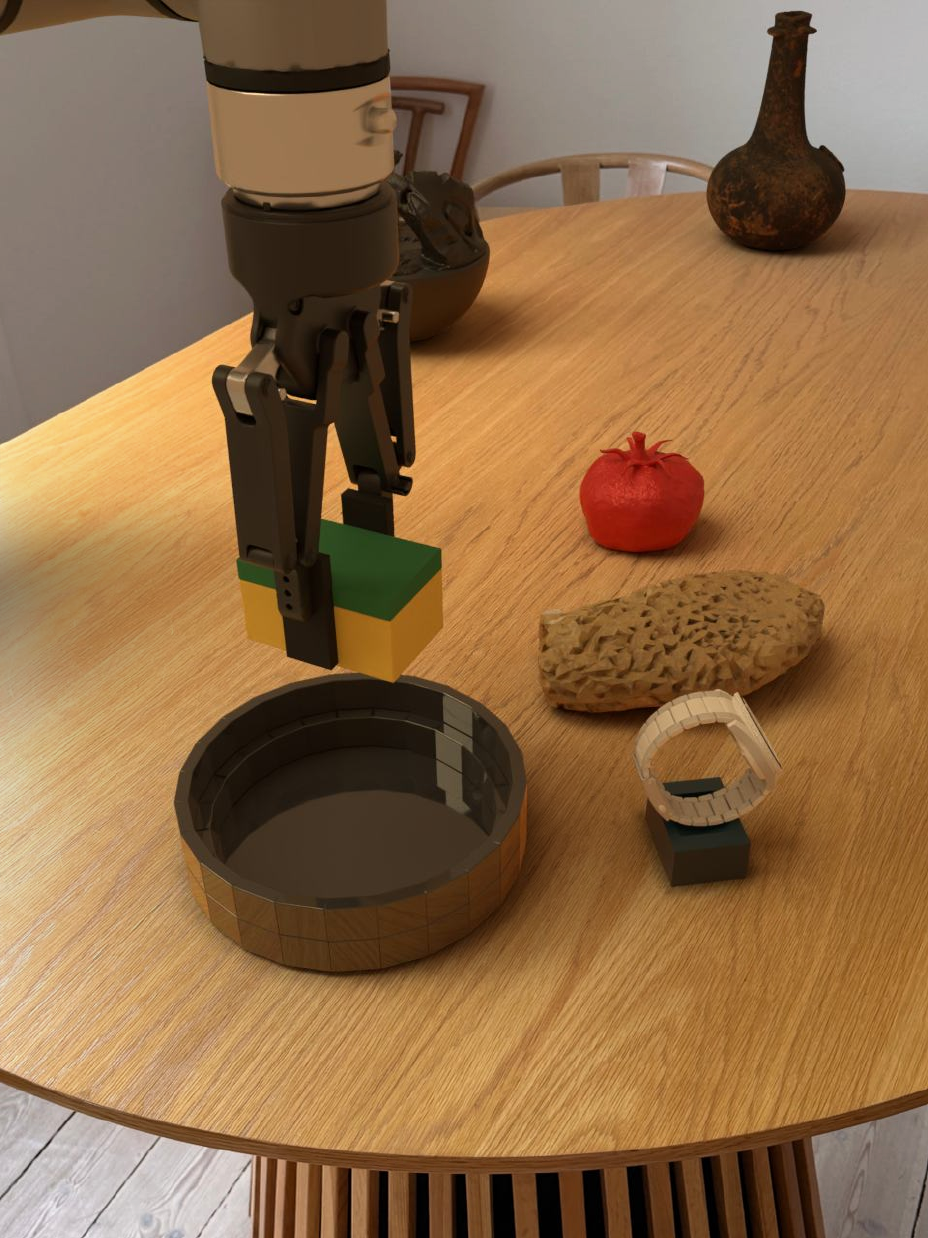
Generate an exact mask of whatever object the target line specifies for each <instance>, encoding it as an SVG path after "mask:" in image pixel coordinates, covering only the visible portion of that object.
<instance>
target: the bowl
mask: <svg viewBox="0 0 928 1238" xmlns="http://www.w3.org/2000/svg"><path fill="white" fill-rule="evenodd" d="M176 781H177V782H176V787H175V793H174V797H173V809H174V814H175V817H176V823H177V827H178V834H179V838H180V842H181V847H182V853H183V858H184V862H185V867H186V871H187V877H188V881H189V886H190V891H191V894H192V896H193V898H194V899H195V901H196V902H197V904H198V905H199V907H200V909H201V910H202V912H203V913H204V914H205V916H206V918H207V919H208V921H209V922H210V923H211V925H212V926H214V927H215V928H216V929H217V930H219V931H220V932H221V933H223V934H224V935H225V936H227V937H228V938H229V939H230V940H231V941H233V942H234V943H235V944H237V945H238V946H239V947H240V948H242V949H244V950H246V951H249V952H251V953H254V954H255V955H258V956H261V957H263V958H266V959H268V960H270V961H273V962H275V963H278V964H281V965H284V966H288V967H294V968H295V967H297V968H302V969H310V970H316V971H324V972H330V973H332V972H333V973H334V972H335V973H336V972H348V971H349V972H351V971H352V972H353V971H365V970H379V969H385V968H389V967H392V966H397V965H400V964H403V963H404V964H405V963H407V962H411V961H414V960H419V959H421V958H426V957H428V956H430V955H433V954H434V953H436V952H438V951H440V950H441V949H443V948H445V947H447V946H449V945H451V944H453V943H454V942H456V941H459V940H460V939H462V938H464V937H466V936H468V935H469V934H470V933H472V932H473V931H475V929H476V928H477V927H478V926H479V925H481V924H482V923H483V922H484V921H485V920H486V919H487V918H488V917H490V915H492V914H493V913H494V912H496V910H497V909H498V908H500V906H501V905H502V903H503V901H504V900H505V898H506V897H507V895H508V893H509V892H510V890H511V889H512V888H513V885H514V884H515V881H516V880H517V879H518V877H519V875H520V872H521V868H522V863H523V858H524V855H525V849H526V845H527V823H528V822H527V821H528V820H527V817H528V816H527V815H528V811H527V810H528V778H527V771H526V767H525V760H524V754H523V751H522V749H521V748H520V746H519V744H518V743H517V740H516V739H515V738H514V736H513V734H512V733H511V731H510V729H509V728H508V725H507V724H506V723H505V722H503V721H502V720H501V719H500V718H499V716H497V715H496V714H495V713H493V712H492V710H490V709H489V708H488V707H487V706H486V705H485V704H483V702H482V703H481V701H478V700H476V699H475V698H474V697H473V698H472V697H471V696H469V695H467V694H465V693H464V692H462V691H459V690H457V689H456V688H454V687H452V686H450V685H448V684H444V683H440V682H436V681H434V680H430V679H426V678H423V677H420V676H416V675H409V674H401V675H400V677H399V678H398V679H397V680H396V681H395V682H394V683H392V682H389V681H385V680H382V679H379V678H375V677H372V676H369V675H366V674H362V673H359V672H356V671H355V672H342V673H341V672H339V673H329V674H325V675H320V676H316V677H315V676H314V677H310V678H307V679H301V680H296V681H292V682H289V683H287V684H284V685H281V686H279V687H276V688H273V689H271V690H268V691H266V692H263V693H261V694H258V695H256V696H254V697H252V698H250V699H248V700H247V701H246V702H244V703H242V704H240V705H239V706H237V707H235V708H234V709H233V710H231V711H230V712H228V713H226V714H224V715H223V716H222V717H221V718H219V719H218V721H216V722H215V724H214V725H212V726H211V727H210V728H209V729H208V730H207V731H206V732H205V733H204V734H203V735H202V736H201V737H200V738H199V739H198V740H197V741H196V742H195V744H194V745H193V747H192V749H191V750H190V752H189V754H188V756H187V758H186V759H185V761H184V762H183V765H182V766H181V768H180V770H179V771H178V776H177V780H176Z"/></svg>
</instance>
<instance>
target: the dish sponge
mask: <svg viewBox="0 0 928 1238" xmlns="http://www.w3.org/2000/svg"><path fill="white" fill-rule="evenodd" d="M319 552H321V553H325V554H328V555H330V562H331V574H332V585H333V586H332V591H333V603H334V614H335V626H336V638H337V649H338V661H339V663H338V664H337V665H336V666H337V667H339V668H343V669H346V670H349V671H353V672H355V673H356V672H359V673H362V674H366V675H369V676H372V677H375V678H379V679H382V680H385V681H389V682H392V683H394V682H395V681H396V680H397V679H398V678H399V677H400V675H403V673H404V672H405V671H406V670H407V669H408V668H409V667H410V666H411V664H412V663H413V662H414V661H415V660H416V659H417V658H418V656H419V655H420V654H421V653H422V652H423V651H424V650H425V649H426V648H427V646H428V645H430V643H431V642H432V641H433V640H434V639H435V637H436V636H438V634H439V633H440V632H441V631H442V629H443V628H444V607H443V571H442V568H443V560H442V559H443V557H442V556H443V555H442V548H440V547H437V546H432V545H429V544H426V543H421V542H417V541H413V540H408V539H406V538H401V537H397V536H395V537H393V536H389V535H385V534H381V533H377V532H373V531H369V530H365V529H361V528H357V527H353V526H349V525H345V524H343V523H341V522H337V521H333V520H329V519H326V518H321V526H320V539H319ZM235 562H236V569H237V576H238V582H239V587H240V595H241V602H242V608H243V609H242V610H243V617H244V624H245V631H246V638H247V639H248V640H249V641H253V642H256V643H260V644H263V645H266V646H270V647H273V648H276V649H280V650H283V651H286V644H285V636H284V627H283V618H282V616H281V614H280V612H279V610H278V605H277V600H278V599H277V596H276V593H277V592H276V588H275V579H274V571H273V570H270V569H266V568H263V567H259V566H256V565H252V564H249V563H245V562H242V561H241V560H240V557H237V558H236V559H235ZM336 666H335V667H336Z"/></svg>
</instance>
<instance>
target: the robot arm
mask: <svg viewBox="0 0 928 1238" xmlns="http://www.w3.org/2000/svg"><path fill="white" fill-rule="evenodd" d="M387 4H388V3H387V0H0V36H1V37H2V36H6V35H10V34H17V33H22V32H27V31H33V30H38V29H43V28H49V27H54V26H59V25H65V24H69V23H70V24H71V23H76V22H81V21H86V20H92V19H96V18H103V17H116V16H117V17H121V16H122V17H123V16H124V17H125V16H128V17H140V18H141V17H142V18H143V17H144V18H157V19H158V18H159V19H167V20H168V19H170V20H176V21H181V22H191V23H198V27H199V34H200V41H201V47H202V54H203V55H202V58H203V66H204V73H205V84H206V94H207V95H206V96H207V103H208V111H209V113H208V114H209V122H210V131H211V140H212V148H213V149H212V150H213V158H214V159H213V160H214V167H215V175H216V176H217V177H218V178H219V180H220V182H222V183H223V184H225V185H226V186H227V187H229V188H228V189H227V190H226V192H225V194H224V195H223V197H222V198H221V201H220V205H221V214H222V221H223V231H224V239H225V247H226V254H227V263H228V264H227V265H228V269H229V272H230V274H231V276H232V278H233V279H234V280H235V281H236V282H237V283H238V284H239V285H240V287H242V288H243V289H244V290H245V291H246V293H247V294H248V295H249V297H250V298H251V301H252V304H253V307H252V309H253V310H252V313H253V314H252V321H251V322H252V323H251V327H250V334H249V338H250V339H249V341H250V346H251V350H250V351H249V352H248V353H247V354H246V356H245V357H244V358H243V359H242V360H241V361H240V363H238V365H237V366H232V365H226V364H219V365H217V366H216V367H215V369H214V370H213V372H212V376H211V386H212V389H213V393H214V394H215V397H216V399H217V402H218V405H219V408H220V410H221V412H222V414H223V417H224V425H225V434H226V436H225V437H226V445H227V454H228V455H227V456H228V463H229V473H230V483H231V491H232V492H231V493H232V501H233V502H232V503H233V510H234V520H235V528H236V529H235V531H236V540H237V548H238V556H239V557H240V560H241V561H242V562H245V563H249V564H252V565H256V566H259V567H263V568H266V569H270V570H273V571H274V579H275V588H276V592H277V593H276V596H277V599H278V600H277V605H278V610H279V612H280V614H281V616H282V618H283V627H284V636H285V644H286V650H285V651H286V658H288V659H293V660H295V661H299V662H302V663H305V664H307V665H312V666H315V667H319V668H322V669H325V670H329V671H333V670H334V668H335V667H336V665H337V664H338V663H339V661H338V649H337V638H336V626H335V614H334V603H333V591H332V586H333V585H332V574H331V562H330V555H328V554H325V553H321V552H319V539H320V526H321V519H322V511H323V500H324V499H323V498H324V484H325V473H326V462H327V461H326V459H327V447H328V433H329V427H330V425H332V424H333V425H334V429H335V432H336V435H337V439H338V440H337V441H338V443H339V447H340V451H341V454H342V458H343V461H344V464H345V468H346V469H345V470H346V472H347V476H348V479H349V482H350V484H352V485H355V486H357V489H354V488H350V487H348V488H347V489H345V490H344V491H342V493H340V500H341V501H340V502H341V513H342V524H345V525H349V526H353V527H357V528H361V529H365V530H369V531H373V532H377V533H381V534H385V535H389V536H393V537H396V535H395V513H394V509H395V508H394V495H397V496H402V497H408V496H409V494H410V493H411V492H412V488H413V483H414V478H413V477H412V476H408V475H403V474H400V471H401V469H402V467H404V468H407V469H408V468H409V469H410V468H411V467H412V466H413V465H414V463H415V461H416V456H417V447H416V445H417V444H416V431H415V428H416V427H415V414H414V411H415V410H414V396H413V379H412V378H413V377H412V361H411V344H410V343H411V342H410V341H409V325H410V316H411V307H412V298H413V290H412V287H411V285H410V284H406V283H400V282H394V281H388V280H387V279H389V278H390V277H391V276H392V275H393V274H394V272H395V271H396V269H397V267H398V264H399V240H398V218H399V214H398V211H397V195H396V192H395V190H394V189H393V188H391V186H390V184H389V183H387V182H386V181H385V180H384V179H385V178H386V177H387V176H388V175H389V174H391V173H393V171H394V170H395V167H394V150H395V149H394V133H393V132H394V130H395V129H396V127H397V123H398V119H397V114H396V113H395V112H396V111H394V110H393V108H392V107H393V106H392V105H393V104H392V90H391V89H392V88H391V77H390V74H391V57H390V56H391V55H390V52H391V49H390V48H389V47H388V46H389V45H388V40H389V39H388V6H387ZM397 214H398V215H397ZM382 327H385V328H382ZM289 396H290V397H289ZM291 397H293V398H291ZM294 398H299V399H303V400H307V401H303V400H298V399H294ZM308 401H314V402H315V403H313V402H308ZM393 437H394V438H395V441H394V440H393V439H392V438H393ZM239 557H238V558H239Z"/></svg>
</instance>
